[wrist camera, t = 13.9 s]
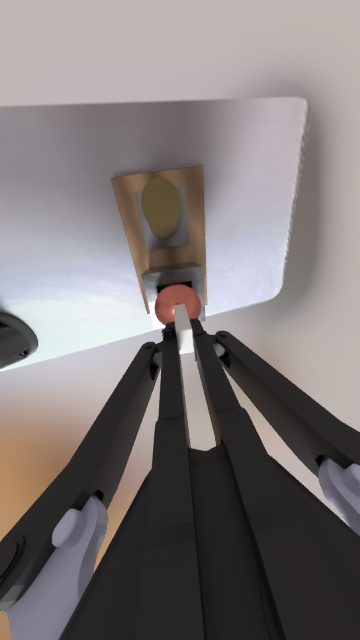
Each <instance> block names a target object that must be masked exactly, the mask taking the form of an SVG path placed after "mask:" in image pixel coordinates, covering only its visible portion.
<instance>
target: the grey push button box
mask: <svg viewBox="0 0 360 640" xmlns="http://www.w3.org/2000/svg"><path fill="white" fill-rule="evenodd" d="M141 278H142V282H143V286H144V290H145V293H146V297H147V301H148V305H149V309H150V313H151V317H152V321H153V325H154V328H161V327H165V326H163V325H162V324H161V323H160V322H159V321H158V320H157V318H156V316H155V312H154V305H155V301H156V298H157V296H158V294H159V293H160V291H161V290H162V287H161V285H165V284H172V283H179V282H185V281H186V286H188V287H190V288H192V289H193V290H194V291H195V292H196V294H197V295H198V297H199V299H200V301H201V313H200V316H199V318H198V319H199V321H205V298H204V274H203V266H202V265H200V264H197V263H195V262H186V263H179V264H173V265H166V266H159V267H152V268H148V269H147V270H146V271H145V272H144V273H143V274H141Z"/></svg>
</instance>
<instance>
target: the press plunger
mask: <svg viewBox="0 0 360 640" xmlns="http://www.w3.org/2000/svg"><path fill="white" fill-rule="evenodd" d="M179 304H185V307H186V311H187V314H188V317H189V319H194V318H197V319H198V318H199V316H200V313H201V301H200V299H199V297H198V295H197V294H196V292H195V291H194V290H193V289H192V288H190V287H188V286H186V285H185V284H184V283H183V282H179V283H172V284H165V285H164V287H163V289H162V290H161V291H160V293H159V294H158V296H157V298H156V301H155V305H154V312H155V316H156V318H157V320H158V321H159V322H160V323H161V324H162V325H163V326H165V325H166V324H167V323H169V322H175V316H174V305H179Z"/></svg>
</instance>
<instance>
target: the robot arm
mask: <svg viewBox="0 0 360 640" xmlns="http://www.w3.org/2000/svg"><path fill="white" fill-rule="evenodd" d="M174 316H175V322H169V323H167V324H166V325H165V329H163V330H162V336H163V341H162V342H160V343H158V344H155V343H154V342H147V343H145V344H143V345H142V347H141V348H140V350H139V352H138V353H137V355H136V356H135V358H134V359H133V361H132V363H131V364H130V366H129V367H128V369H127V371H126V372H125V374H124V375H123V377H122V379H121V380H120V382H119V383H118V385H117V386H116V388H115V390H114V391H113V393H112V395H111V396H110V398H109V399H108V401H107V402H106V404H105V406H104V407H103V409H102V410H101V412H100V414H99V415H98V417H97V418H96V420H95V422H94V423H93V425H92V426H91V428H90V430H89V431H88V433H87V434H86V436H85V438H84V439H83V441H82V443H81V444H80V446H79V447H78V449H77V451H76V452H75V454H74V455H73V457H72V459H71V460H70V462H69V463H68V465H67V466H66V467H65V468H64V469H63V471H62V472H61V473H60V474H59V475H58V476H57V477H56V478H55V480H54V481H53V482H52V483H51V484H50V485H49V486H48V488H47V489H46V490H45V491H44V492H43V494H41V496H40V497H39V498H38V499H37V500H36V502H35V503H34V504H33V505H32V506H31V507H30V508H29V510H28V511H27V512H26V513H25V514H24V515H23V516H22V517H21V519H20V520H19V521H18V522H17V523H16V525H14V527H13V528H12V529H11V530H10V531H9V532H8V534H7V535H6V536H5V537H4V538H3V539H2V541H1V542H0V611H4V612H6V613H7V614H8V619H9V624H10V629H11V634H12V639H13V640H360V432H358V431H357V430H355V429H353V428H352V427H350V426H348V425H346V424H345V423H343V422H341V421H340V420H339V419H337V418H336V417H335V416H334V415H332V414H331V413H330V412H329V411H327V410H326V409H325V408H324V407H322V406H321V405H320V404H318V403H317V402H316V401H315V400H313V399H312V398H311V397H310V396H308V395H307V394H306V393H305V392H303V391H302V390H301V389H299V388H298V387H297V386H296V385H295V384H293V383H292V382H291V381H290V380H288V379H287V378H285V377H284V376H283V375H282V374H281V373H279V372H278V371H277V370H276V369H274V368H273V367H272V366H271V365H269V364H268V363H267V362H266V361H264V360H263V359H262V358H261V357H259V356H258V355H257V354H255V353H254V352H253V351H252V350H250V349H249V348H248V347H247V346H245V345H244V344H243V343H242V342H240V341H239V340H238V339H237V338H235V337H234V336H233V335H231V334H230V333H229V332H227V331H218V332H217V333H216V335H209V334H207V332H206V331H204V330H203V327H202V325H201V323H200V321H199V319H197V318H194V319H189V317H188V314H187V311H186V307H185V304H179V305H174ZM37 346H38V342H37V338H36V336H35V334H34V333H33V332H32V330H31V329H30V328H29V327H28V326H26V325H25V324H24V323H23V322H21V321H19V320H18V319H16V318H14V317H12V316H10V315H7V314H4V313H1V312H0V369H2V368H4V367H6V366H9V365H11V364H14V363H16V362H19V361H21V360H23V359H25V358H27V357H28V356H30V355H31V354H32V353H34V352H35V350H36V349H37ZM194 351H195V361H197V366H198V370H199V374H200V378H201V382H202V386H203V390H204V394H205V398H206V402H207V406H208V410H209V414H210V418H211V423H212V427H213V431H214V435H215V441H216V446H215V447H214V448H212V449H210V450H208V451H202V450H196V449H192V448H191V447H190V439H189V430H188V421H187V412H186V404H185V395H184V385H183V377H182V368H181V359H180V354H183V353H190V352H194ZM161 365H162V367H161ZM222 366H223V367H224V368H225V370H226V371H227V372H228V373H229V375H230V376H231V377H232V378H233V379H234V380H235V382H236V383H237V384H238V386H239V387H240V388H241V389H242V390H243V392H244V393H245V394H246V395H247V396H248V398H249V399H250V400H251V402H252V403H253V404H254V405H255V407H256V408H257V409H258V410H259V411H260V412H261V414H262V415H263V416H264V417H265V419H266V420H267V421H268V422H269V424H270V425H271V426H272V427H273V429H274V430H275V431H276V432H277V433H278V435H279V436H280V437H281V438H282V439H283V441H284V442H285V443H286V445H287V446H288V447H289V448H290V449H291V450H292V452H293V453H294V454H295V455H296V456H297V457H298V458H299V460H300V461H301V462H302V463H304V465H305V466H306V467H307V468H308V469H309V470H311V472H312V473H313V474H314V475H316V476H317V477H318V479H319V483H320V486H321V488H322V490H323V493H324V496H325V498H326V499H327V500H328V502H329V503H330V504H331V505H332V506H333V507H334V508H336V509H337V510H338V511H339V512H340V514H341V515H343V517H344V519H345V520H346V522H347V523H348V525H349V526H350V527H349V526H348V525H347V524H346V523H344V522H343V521H342V520H341V519H340V518H339V517H338V516H337V515H336V514H334V513H333V512H332V511H331V510H330V509H329V508H328V507H327V506H326V505H325V504H324V503H322V502H321V501H320V500H319V499H318V498H317V497H316V496H315V495H314V494H313V493H311V492H310V491H309V490H308V489H307V488H306V487H305V486H304V485H302V484H301V483H300V482H299V481H298V480H297V479H296V478H295V477H294V476H293V475H291V474H290V473H289V472H288V471H287V470H286V469H285V468H284V467H283V466H282V465H280V464H279V463H278V462H277V461H276V460H275V459H274V458H272V457H271V456H270V455H268V453H267V451H266V449H265V447H264V445H263V443H262V441H261V439H260V437H259V435H258V433H257V431H256V429H255V427H254V425H253V423H252V420H251V419H250V416H249V414H248V413H247V411H246V410H245V409H244V408H242V407H241V406H240V404H239V402H238V400H237V398H236V396H235V393H234V391H233V389H232V387H231V385H230V383H229V380H228V379H227V376H226V374H225V372H224V369H223V367H222ZM160 369H161V383H160V401H159V416H158V417H159V418H158V421H157V422H156V425H155V433H154V446H153V459H152V469H151V470H150V472H149V473H148V475H147V476H146V478H145V479H144V481H143V483H142V485H141V487H140V489H139V490H138V492H137V494H136V496H135V498H134V500H133V502H132V503H131V505H130V507H129V509H128V511H127V513H126V515H125V517H124V518H123V520H122V522H121V524H120V526H119V528H118V530H117V531H116V533H115V535H114V537H113V539H112V541H111V543H110V544H109V546H108V548H107V550H106V552H105V554H104V556H103V558H102V559H101V561H100V563H99V565H98V567H97V569H96V570H95V572H94V566H95V562H96V558H97V555H98V552H99V550H100V547H101V544H102V542H103V540H104V537H105V534H106V529H107V521H108V516H107V508H108V507H109V505H110V503H111V501H112V498H113V496H114V494H115V492H116V490H117V488H118V485H119V483H120V480H121V478H122V475H123V472H124V470H125V467H126V464H127V461H128V459H129V456H130V453H131V450H132V447H133V445H134V442H135V439H136V436H137V433H138V430H139V428H140V425H141V422H142V419H143V417H144V413H145V411H146V408H147V405H148V403H149V400H150V397H151V394H152V391H153V389H154V386H155V383H156V380H157V377H158V374H159V372H160ZM93 573H94V574H93Z"/></svg>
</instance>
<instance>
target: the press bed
mask: <svg viewBox="0 0 360 640" xmlns="http://www.w3.org/2000/svg"><path fill="white" fill-rule="evenodd" d="M160 177H162V178H165V179H167V180H169V181H170V182H171V183H172V184H173V185H174V186H175V187H176V189H177V191H178V192H179V195H180V199H181V213H180V217H179V226H178V230H177V232H176V233H175V234H174V235H173V236H172V237H171V238H169V239H161V238H158V237H157V236H155V235H154V234H153V233H152V231H151V230H150V227H149V225H148V221H147V220H146V219H145V217H144V214H143V212H142V207H141V196H142V192H143V189H144V187H145V185H146V184H147V183H148V182H149V181H150V180H152V179H154V178H160ZM111 181H112V185H113V188H114V192H115V196H116V199H117V203H118V207H119V210H120V214H121V218H122V222H123V225H124V229H125V233H126V236H127V240H128V244H129V247H130V251H131V255H132V259H133V262H134V266H135V270H136V273H137V277H138V281H139V284H140V288H141V292H142V296H143V299H144V303H145V307H146V310H147V314H149V313H150V309H149V305H148V301H147V297H146V293H145V290H144V286H143V282H142V278H141V274H143V273H144V272H145V271H146V270H147V269H148V268H152V267H159V266H166V265H173V264H179V263H186V262H195V263H197V264H200V265H202V266H203V274H204V298H205V305H207V284H206V252H205V221H204V189H203V165H201V166H194V167H186V168H179V169H172V170H164V171H157V172H150V173H142V174H135V175H128V176H120V177H113V178H111ZM183 283H184V284H185V285H186V281H185V282H183ZM161 287H162V289H163V287H164V285H161Z"/></svg>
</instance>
